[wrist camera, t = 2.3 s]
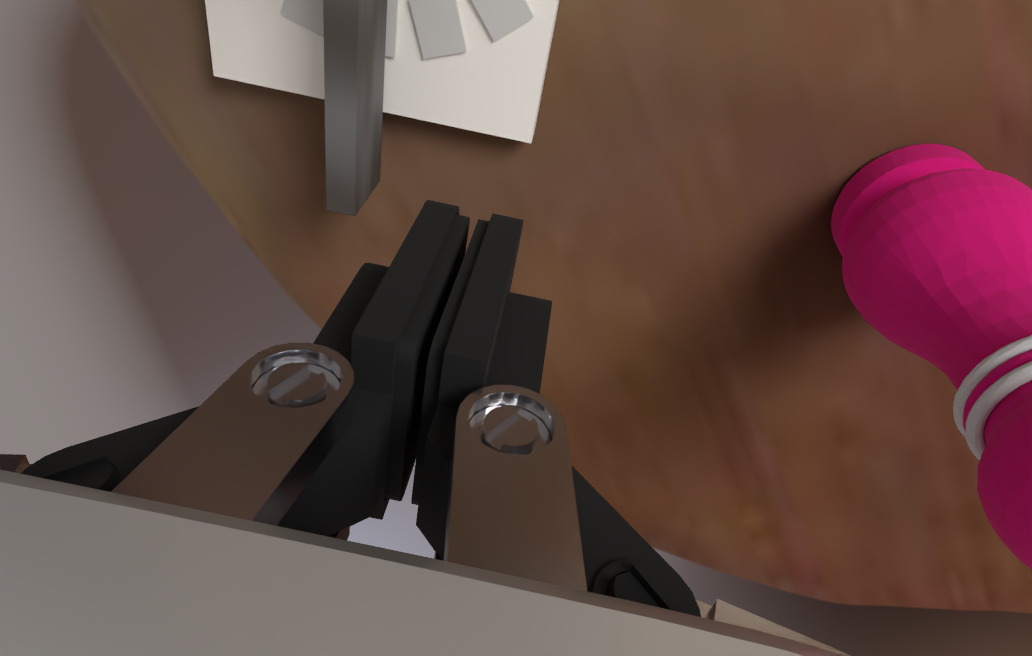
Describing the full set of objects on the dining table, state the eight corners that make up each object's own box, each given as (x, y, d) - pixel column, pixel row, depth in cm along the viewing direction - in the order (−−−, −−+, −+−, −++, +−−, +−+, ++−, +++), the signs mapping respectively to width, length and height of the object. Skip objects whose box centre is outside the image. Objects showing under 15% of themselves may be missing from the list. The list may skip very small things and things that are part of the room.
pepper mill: (839, 297, 32) (1050, 739, 16) (799, 174, 29) (1018, 581, 13) (1007, 244, 30) (1456, 712, 14) (985, 100, 26) (1553, 502, 10)
